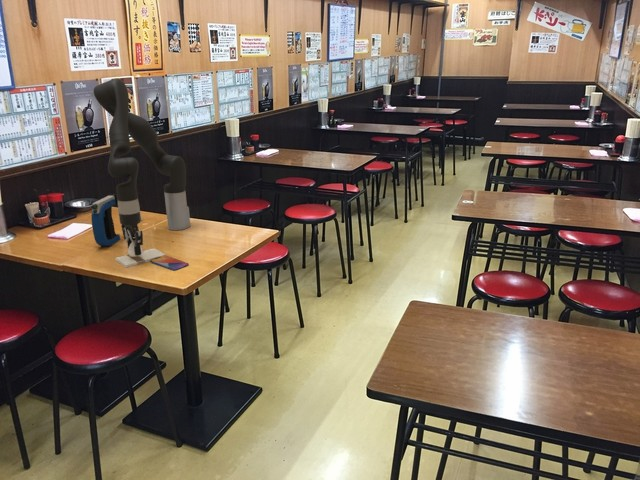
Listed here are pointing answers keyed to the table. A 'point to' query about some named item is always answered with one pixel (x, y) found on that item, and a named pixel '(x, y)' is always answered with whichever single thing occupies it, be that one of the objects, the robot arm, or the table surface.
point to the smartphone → (169, 263)
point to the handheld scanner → (104, 221)
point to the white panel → (139, 258)
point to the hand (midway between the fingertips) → (134, 252)
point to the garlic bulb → (131, 250)
